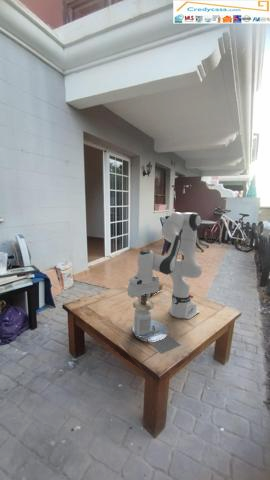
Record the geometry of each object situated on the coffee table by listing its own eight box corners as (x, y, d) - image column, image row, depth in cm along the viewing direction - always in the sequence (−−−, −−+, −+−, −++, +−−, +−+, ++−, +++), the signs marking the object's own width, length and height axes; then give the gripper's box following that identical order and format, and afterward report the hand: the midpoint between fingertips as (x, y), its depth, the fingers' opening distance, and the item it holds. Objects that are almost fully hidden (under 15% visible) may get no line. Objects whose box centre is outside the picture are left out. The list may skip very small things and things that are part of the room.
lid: (145, 299, 134) (145, 290, 133) (158, 307, 125) (158, 297, 124) (129, 303, 128) (129, 294, 127) (140, 312, 118) (141, 302, 117)
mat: (164, 333, 131) (164, 332, 131) (180, 345, 119) (181, 344, 119) (145, 340, 123) (145, 339, 123) (161, 354, 111) (161, 353, 111)
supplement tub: (152, 332, 131) (154, 309, 129) (145, 340, 123) (147, 316, 120) (138, 327, 135) (139, 305, 133) (130, 335, 127) (131, 311, 125)
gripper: (155, 274, 132) (154, 295, 134) (126, 279, 121) (125, 302, 123) (162, 277, 127) (160, 299, 129) (132, 282, 115) (131, 307, 118)
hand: (143, 301), depth 126 cm, fingers closed on lid, 3 cm apart
